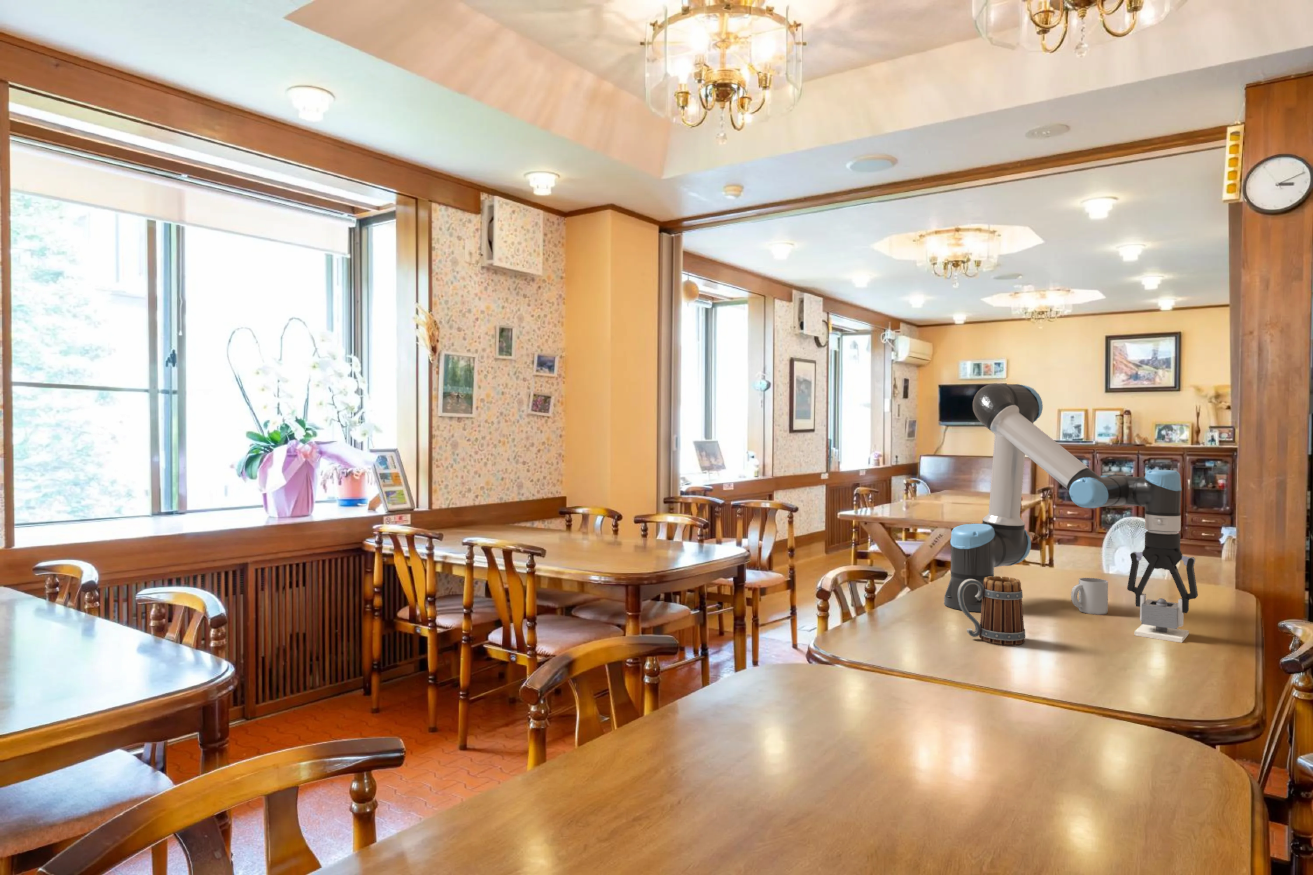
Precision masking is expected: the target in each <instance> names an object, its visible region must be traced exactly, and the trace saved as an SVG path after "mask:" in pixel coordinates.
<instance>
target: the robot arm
mask: <svg viewBox="0 0 1313 875" xmlns="http://www.w3.org/2000/svg"><path fill="white" fill-rule="evenodd" d="M1043 405H1044V404H1043V399H1042V397H1041V395H1040V394H1039V393H1038V392H1037V391H1036V389H1034V388H1033V387H1031V386H1029V385H1024V384H1019V383H1017V384H1014V383H1012V384H1011V383H1008V384H1007V383H989V384H987V385H985V386H983V387H981V388H979V390H978V391H977V392H976V394H974V397H973V401H972V411H973V413H974V415H975V417H976V419H977V420H978V421H979V422H980V423H981V424H982V425H984V427H986V428H987V429H988V430H989V431H990V432H992V433H993V434H994V440H993V441H994V442H993V454H992V466H991V476H990V477H991V478H990V480H991V482H990V491H989V505H988V513H987V514H986V515H985V516H984V517H983V518H982V522H981V523H966V524H961V525H958V526H955V527H953V529H952V530H951V532H950V534H951V535H950V542H949V543H950V580H949V582H948V584H947V585H948V586H947V588H946V591H945V594H944V598H943V604H944V605H945V607H948V608H950V609H954V610H959V611H962V609H961V608H960V605H959V601H958V589H959V586H960V584H961V583H962V582H963V581H965V580H967V579H974V580H977V581H979V582H980V583H981V584H982V585H983V584H984V579H985V577H989V576H993V578H994V576H995V568H998V567H1008V566H1014V565H1016V564H1019V563H1021V562H1023V561H1024V560H1025V559H1026V558H1028V556H1029V553H1030V552H1031V549H1032V540H1031V537H1030V535H1029V534H1028V531H1027V530H1026V529H1025V528H1026V522H1025V521H1024V520H1023V519H1022V518H1021V507H1022V506H1021V505H1022V494H1023V483H1024V481H1023V480H1024V474H1025V472H1024V470H1025V469H1024V468H1025V459H1026V457H1028V458H1029V459H1030V460H1031V461H1033V463H1035V464H1036V465H1037V466H1038V467H1040V468H1041V469H1042V470H1043V471H1044V472H1046V474H1048V475H1049V476H1051V477H1052V478H1053V479H1054V480H1056V481H1057V482H1058V483H1059V484H1060V485H1061V486H1062V487H1064V488H1066V490H1067V491H1069V497H1070V499H1071V501H1072V502H1073V504H1075V505H1077V506H1078V507H1081V508H1086V509H1098V508H1101V507H1102V508H1103V507H1104V508H1105V507H1114V506H1134V507H1144V515H1145V516H1144V529H1145V530H1146V532H1144V549H1143V550H1142V551H1138V552H1137V551H1133V552H1131V553H1130V554H1129V556H1130V560H1131V565H1130V569H1129V575H1128V581H1127V582H1128V583H1127V587H1126V590H1127V591H1129V592H1131V593H1134V594H1135V602H1134V604H1135V607H1138V608H1139V621H1140V622H1141V620H1142V604H1143V603H1144V602H1145V601H1146V600H1147V594H1146V593H1143V592H1144V589H1145V587H1146V586H1147V583H1148V581H1149V579H1150V577H1151V575H1152V574H1153V572H1154V570H1155V569H1156V570H1158V569H1162V570H1165V571H1169V574H1170V575H1171V577H1172V579H1173V581H1174V583H1175V586H1176V588H1177V590H1178V593H1179V595H1180V597H1181V598H1178V600H1177V601H1178V602H1177V603H1178V626H1179V627H1180V628H1181V627H1183V626H1184V614H1187V613H1189V610H1190V604H1189V602H1190V600H1193V599H1194V600H1195V599H1197V597H1198V595H1199V592H1198V585H1197V581H1196V579H1197V578H1196V573H1195V568H1194V566H1195V562H1196V558H1195V557H1193V556H1191V557H1190V556H1186V555H1183V553H1182V550H1181V534H1180V533H1179V532H1180V531H1181V527H1182V526H1181V525H1182V524H1181V523H1182V521H1181V518H1182V515H1181V505H1182V502H1181V500H1182V482H1181V474H1180V472H1179V471H1177V470H1169V469H1148V470H1145V475H1144V476H1130V475H1129V476H1127V475H1117V474H1109V475H1108V474H1107V475H1106V474H1105V475H1104V474H1103V475H1099V474H1098V473H1096V472H1095V471H1093V470H1092V469H1091V468H1090V467H1088V466H1087V465H1086V464H1085V463H1083V462H1082V461H1081V460H1079V459H1078V458H1077V457H1076V456H1075V455H1073V454H1072V453H1071V452H1069V451H1068V450H1067V449H1066V448H1064V447H1063V446H1062V445H1061V444H1060V443H1059V442H1057V441H1056V440H1054V439H1053V438H1052V437H1050V435H1048V434H1047V433H1045V432H1044V431H1043V430H1041V429H1040V428H1039V427H1038V426H1037V425H1036V424H1034V423H1035V422H1036V421H1038V419H1039V418H1040V417H1041V415H1042V414H1043V413H1042V412H1043V407H1044V406H1043ZM1142 557H1143V558H1144V560H1146V562H1147V563H1148V564H1147V567H1146V569H1145V571H1144V573H1143V575H1142V577H1141V578H1140V581H1139V583H1138V585H1137V586H1136V583H1137V575H1138V570H1139V564H1140V561H1141V560H1142ZM1181 561H1182V562H1183V565H1184V566H1186V567H1185V568H1186V576H1187V581H1188V582H1187V583H1188V589H1189V593H1188V590H1187V589H1186V585H1185V583H1184V581H1183V579H1182V576H1181V575H1180V573H1179V569H1178V566H1177V565H1178V564H1179V563H1180V562H1181ZM977 594H978V586H977V585H975V584H970V585H968V586H967V587H966V588H965V590H964V594H963V597H964V603H965V606H966V609H967V610H968V612H975V613H976V612H980V613H981V607H982V599H981V600H978V599H977V598H976V597H975V596H976V595H977Z"/></svg>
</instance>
